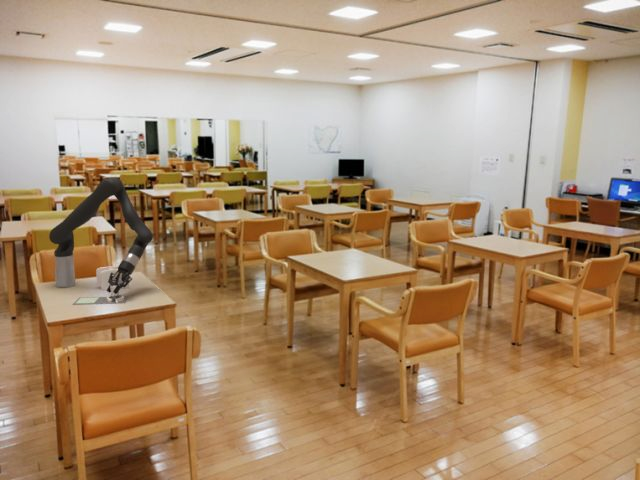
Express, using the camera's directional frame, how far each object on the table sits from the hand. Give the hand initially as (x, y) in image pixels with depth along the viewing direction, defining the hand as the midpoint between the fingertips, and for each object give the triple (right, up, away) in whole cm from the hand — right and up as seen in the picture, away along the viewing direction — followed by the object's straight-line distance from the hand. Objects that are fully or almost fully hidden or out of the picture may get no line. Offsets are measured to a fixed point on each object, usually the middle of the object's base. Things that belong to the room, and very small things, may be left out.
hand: (111, 292), depth 269 cm
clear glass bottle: (+1, -4, +3) cm, 5 cm away
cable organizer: (-9, -1, +26) cm, 28 cm away
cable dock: (-6, -5, +2) cm, 8 cm away
